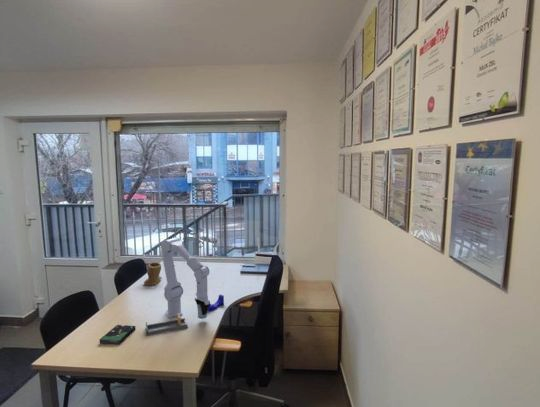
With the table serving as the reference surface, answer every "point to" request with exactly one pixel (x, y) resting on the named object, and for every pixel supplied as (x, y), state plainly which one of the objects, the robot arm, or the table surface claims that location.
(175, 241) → the robot arm
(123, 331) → the disk drive
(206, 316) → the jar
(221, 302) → the cable clip
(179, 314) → the bar
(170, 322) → the tray
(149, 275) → the brown boot
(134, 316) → the table surface
